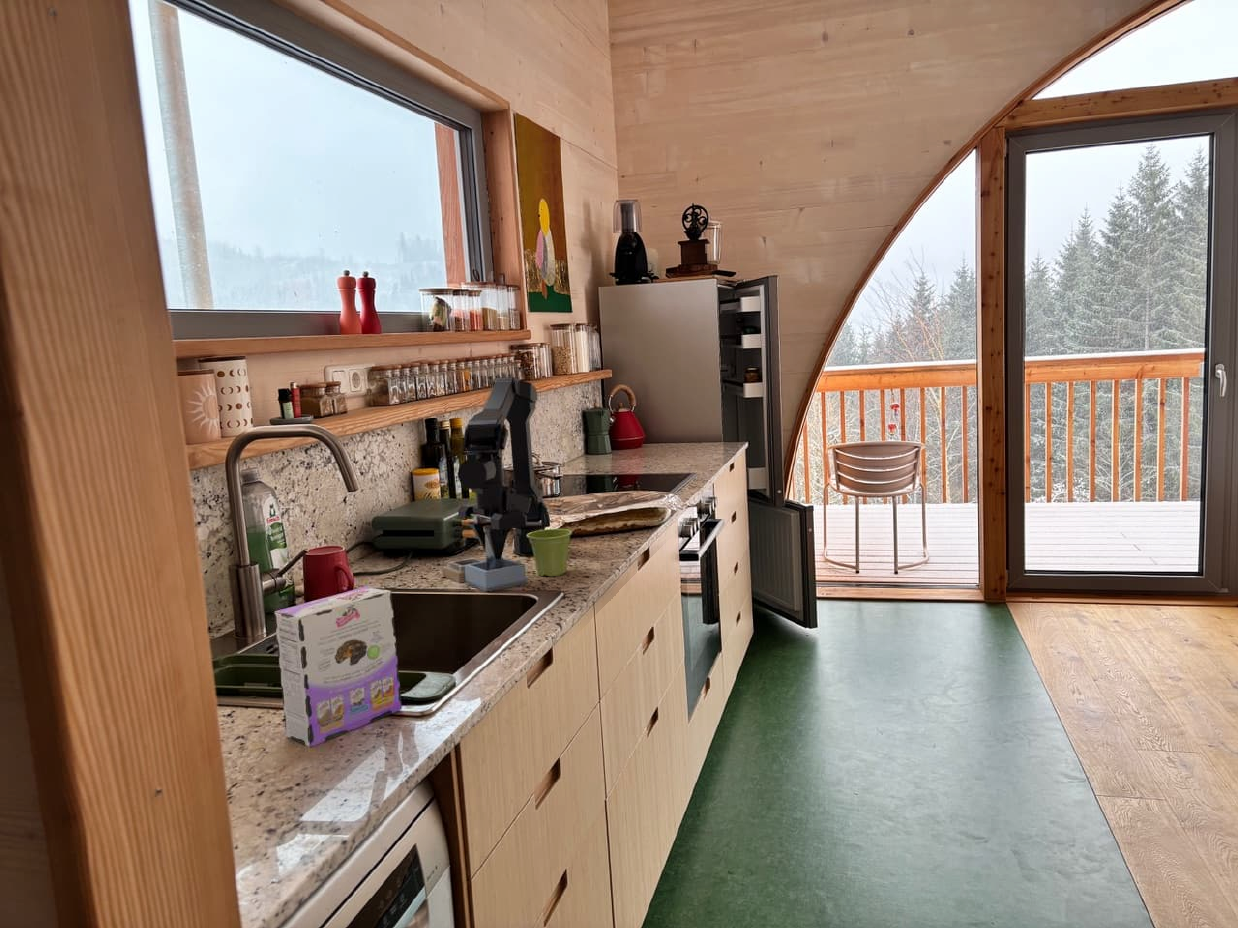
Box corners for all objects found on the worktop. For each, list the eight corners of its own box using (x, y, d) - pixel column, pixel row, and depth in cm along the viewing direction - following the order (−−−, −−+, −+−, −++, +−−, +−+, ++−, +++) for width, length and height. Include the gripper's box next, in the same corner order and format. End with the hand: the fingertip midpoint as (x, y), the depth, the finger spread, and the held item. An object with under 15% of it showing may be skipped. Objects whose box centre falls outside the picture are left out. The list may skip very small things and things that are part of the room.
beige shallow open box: (476, 569, 201) (475, 556, 200) (494, 575, 194) (493, 561, 194) (442, 576, 196) (441, 562, 196) (459, 582, 190) (458, 568, 189)
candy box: (376, 701, 126) (367, 584, 124) (403, 710, 122) (393, 589, 120) (284, 737, 115) (271, 609, 113) (310, 748, 111) (298, 616, 109)
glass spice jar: (482, 569, 187) (479, 526, 186) (498, 566, 190) (495, 523, 188) (491, 572, 185) (488, 528, 183) (507, 569, 187) (504, 525, 185)
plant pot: (537, 581, 188) (535, 539, 187) (523, 572, 196) (521, 532, 195) (580, 574, 192) (578, 533, 191) (564, 566, 200) (562, 526, 199)
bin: (504, 576, 194) (503, 557, 193) (526, 583, 186) (525, 564, 186) (466, 584, 188) (464, 564, 188) (486, 592, 181) (485, 572, 181)
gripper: (547, 480, 182) (552, 557, 184) (502, 472, 197) (506, 544, 199) (497, 487, 175) (503, 567, 177) (454, 479, 191) (460, 553, 192)
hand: (494, 557), depth 187 cm, fingers closed on glass spice jar, 3 cm apart
